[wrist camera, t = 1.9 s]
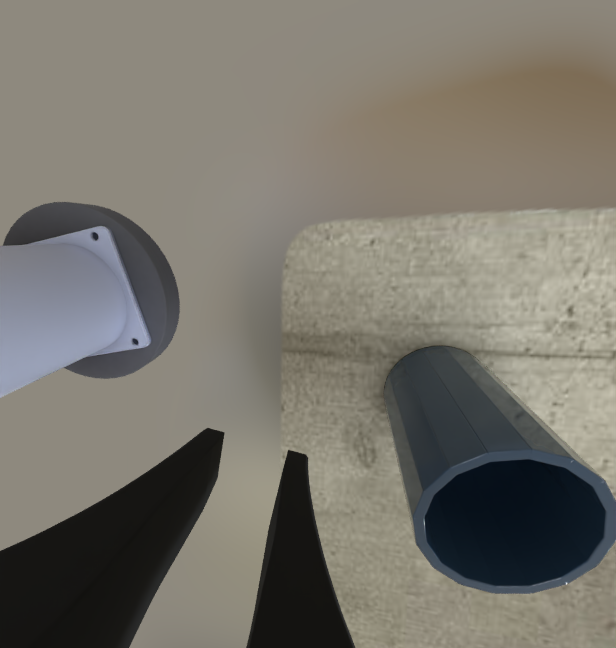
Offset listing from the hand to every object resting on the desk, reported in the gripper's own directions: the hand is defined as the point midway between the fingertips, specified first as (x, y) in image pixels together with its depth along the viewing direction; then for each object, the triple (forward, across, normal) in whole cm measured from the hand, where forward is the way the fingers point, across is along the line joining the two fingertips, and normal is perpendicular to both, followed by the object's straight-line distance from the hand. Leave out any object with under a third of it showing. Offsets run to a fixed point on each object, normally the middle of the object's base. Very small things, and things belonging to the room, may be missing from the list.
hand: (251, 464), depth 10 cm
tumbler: (+9, -9, 0) cm, 13 cm away
